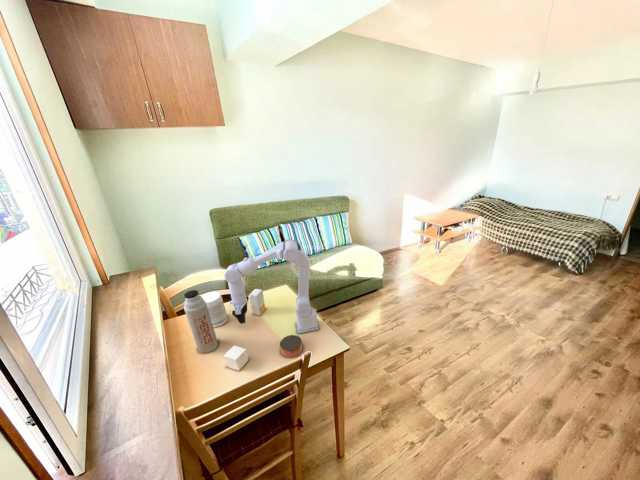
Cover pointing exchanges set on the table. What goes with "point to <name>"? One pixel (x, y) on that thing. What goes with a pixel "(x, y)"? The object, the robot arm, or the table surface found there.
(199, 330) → the thermos bottle
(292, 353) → the terracotta tin
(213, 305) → the supplement tub
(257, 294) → the cosmetic box
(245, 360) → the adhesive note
